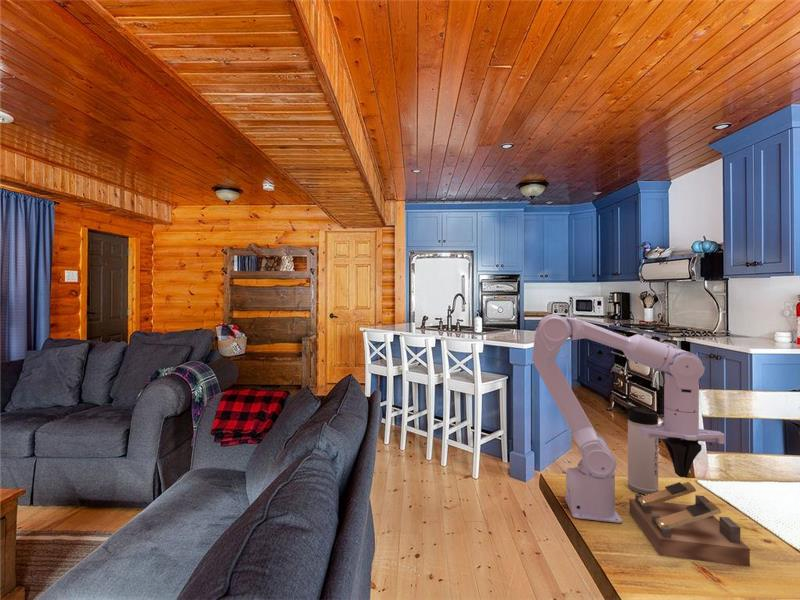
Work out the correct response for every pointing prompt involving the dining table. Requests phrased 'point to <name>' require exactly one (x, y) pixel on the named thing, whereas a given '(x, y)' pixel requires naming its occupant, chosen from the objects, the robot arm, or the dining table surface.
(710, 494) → the dining table surface
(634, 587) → the dining table surface
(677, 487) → the far strap
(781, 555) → the dining table surface
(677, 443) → the robot arm
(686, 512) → the near strap
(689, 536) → the brown strap fixture board
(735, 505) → the dining table surface
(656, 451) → the travel mug
